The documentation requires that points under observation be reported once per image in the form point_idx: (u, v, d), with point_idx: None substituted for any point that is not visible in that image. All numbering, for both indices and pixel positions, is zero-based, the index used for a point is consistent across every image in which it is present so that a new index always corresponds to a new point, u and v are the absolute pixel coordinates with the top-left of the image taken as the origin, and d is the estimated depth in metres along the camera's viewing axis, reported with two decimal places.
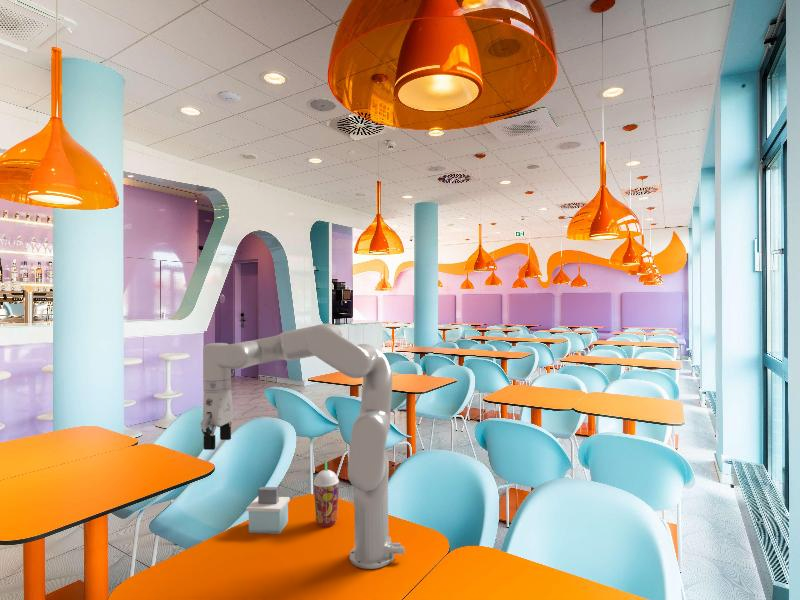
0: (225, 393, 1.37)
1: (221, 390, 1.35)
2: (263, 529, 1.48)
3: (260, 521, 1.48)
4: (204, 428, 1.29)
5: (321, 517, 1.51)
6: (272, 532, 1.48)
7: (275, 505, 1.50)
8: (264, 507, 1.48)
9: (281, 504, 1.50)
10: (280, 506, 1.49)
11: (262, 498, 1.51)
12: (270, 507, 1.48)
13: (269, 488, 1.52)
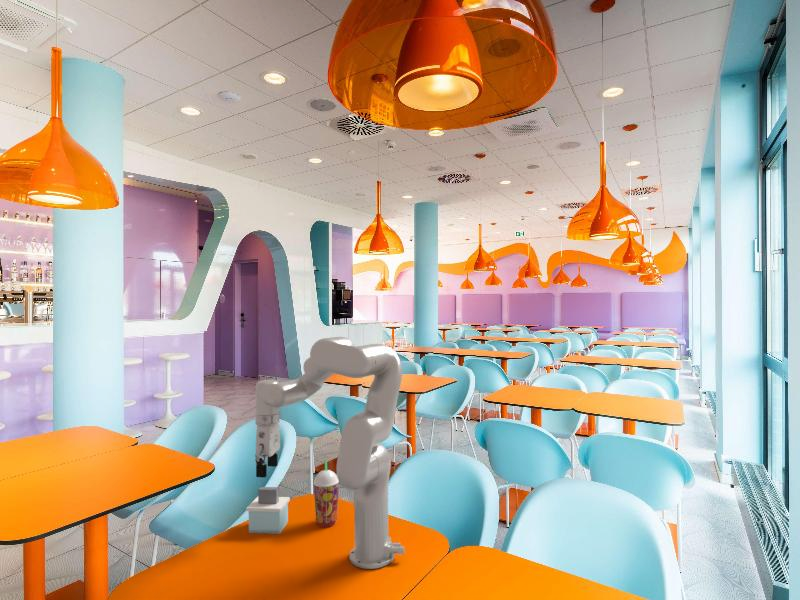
0: (275, 426, 1.52)
1: (272, 423, 1.50)
2: (263, 529, 1.48)
3: (260, 521, 1.48)
4: (258, 459, 1.45)
5: (321, 517, 1.51)
6: (272, 532, 1.48)
7: (275, 505, 1.50)
8: (264, 507, 1.48)
9: (281, 504, 1.50)
10: (280, 506, 1.49)
11: (262, 498, 1.51)
12: (270, 507, 1.48)
13: (269, 488, 1.52)
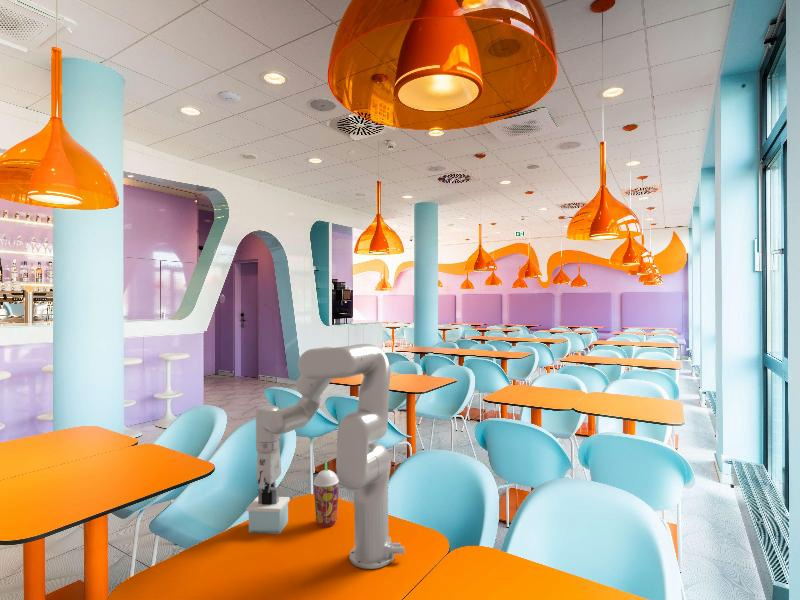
0: (275, 452, 1.52)
1: (272, 450, 1.49)
2: (263, 529, 1.48)
3: (260, 521, 1.48)
4: (263, 489, 1.47)
5: (321, 517, 1.51)
6: (272, 532, 1.48)
7: (275, 505, 1.50)
8: (264, 507, 1.48)
9: (281, 504, 1.50)
10: (280, 506, 1.49)
11: None
12: (270, 507, 1.48)
13: None
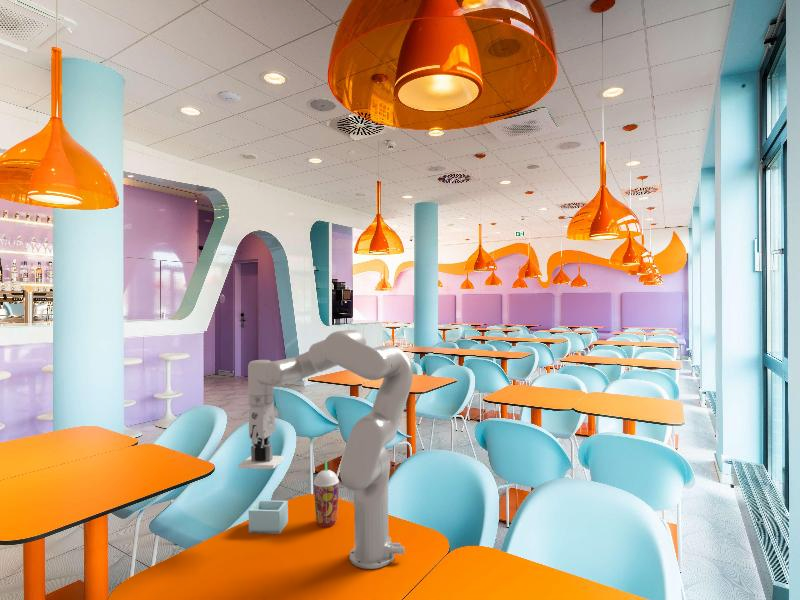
0: (268, 407, 1.46)
1: (265, 404, 1.44)
2: (263, 529, 1.48)
3: (260, 521, 1.48)
4: (256, 444, 1.42)
5: (321, 517, 1.51)
6: (272, 532, 1.48)
7: (268, 462, 1.44)
8: (257, 464, 1.43)
9: (274, 461, 1.45)
10: (273, 463, 1.44)
11: None
12: (263, 464, 1.43)
13: None
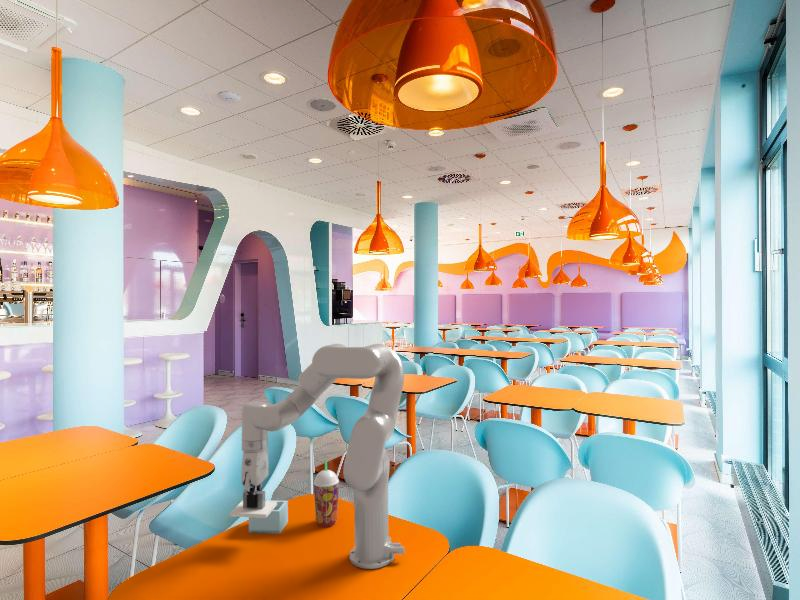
0: (262, 452, 1.41)
1: (259, 450, 1.39)
2: (263, 529, 1.48)
3: (260, 521, 1.48)
4: (248, 491, 1.37)
5: (321, 517, 1.51)
6: (272, 532, 1.48)
7: (261, 510, 1.39)
8: (249, 512, 1.38)
9: (267, 509, 1.40)
10: (266, 511, 1.39)
11: None
12: (255, 512, 1.38)
13: None
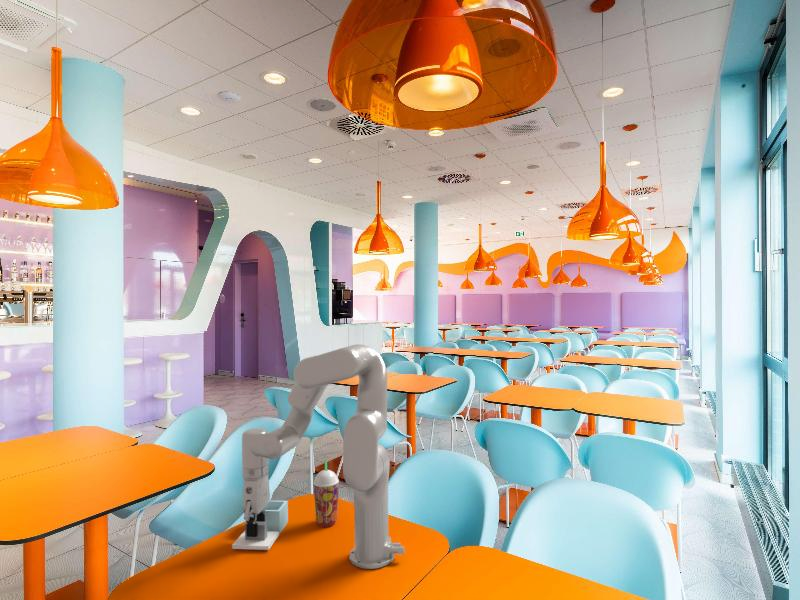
0: (263, 479, 1.41)
1: (260, 477, 1.39)
2: None
3: None
4: (248, 520, 1.36)
5: (321, 517, 1.51)
6: None
7: (263, 542, 1.39)
8: (251, 544, 1.38)
9: (269, 540, 1.40)
10: (268, 543, 1.38)
11: None
12: (257, 544, 1.38)
13: None
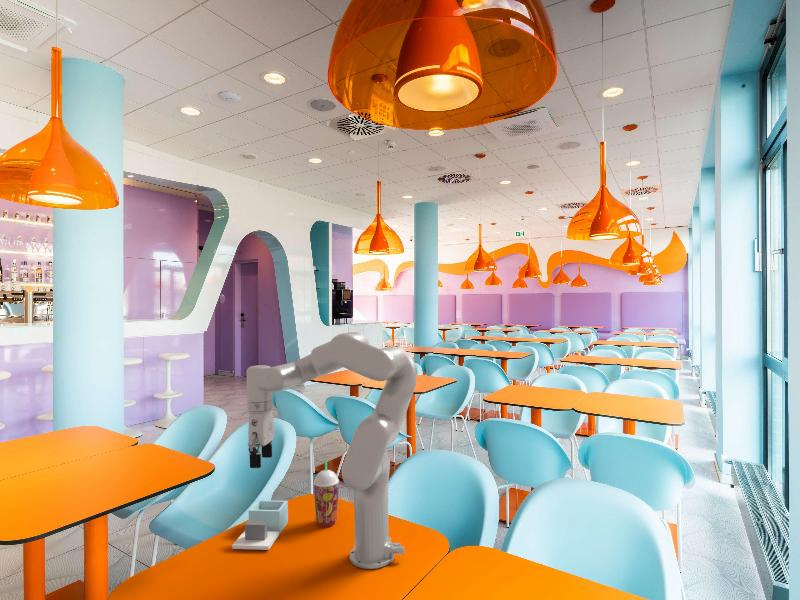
0: (268, 413, 1.44)
1: (265, 411, 1.41)
2: None
3: (260, 521, 1.48)
4: (251, 448, 1.36)
5: (321, 517, 1.51)
6: None
7: (263, 542, 1.39)
8: (251, 544, 1.38)
9: (270, 540, 1.40)
10: (268, 543, 1.38)
11: (249, 534, 1.41)
12: (258, 544, 1.38)
13: (257, 523, 1.42)
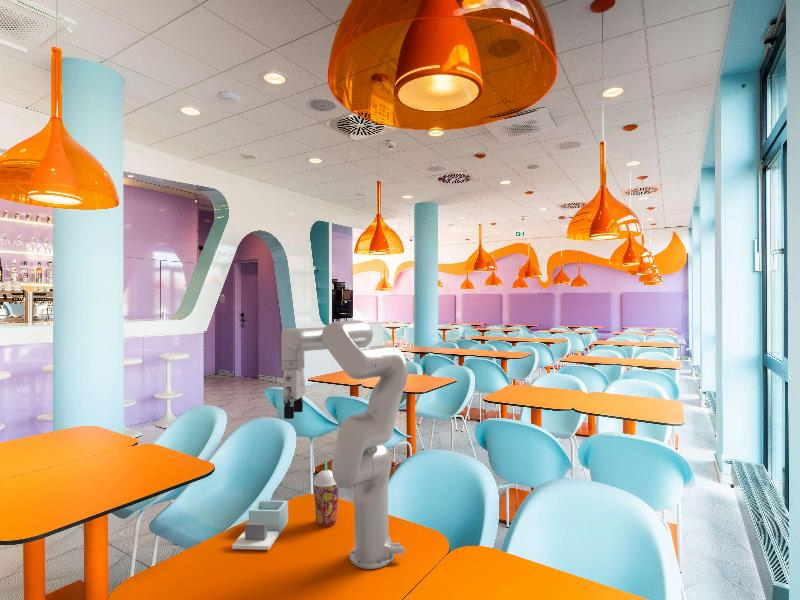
0: (300, 371, 1.59)
1: (298, 368, 1.57)
2: None
3: (260, 521, 1.48)
4: (286, 400, 1.52)
5: (321, 517, 1.51)
6: None
7: (263, 542, 1.39)
8: (251, 544, 1.38)
9: (270, 540, 1.40)
10: (268, 543, 1.38)
11: (249, 534, 1.41)
12: (258, 544, 1.38)
13: (257, 523, 1.42)
